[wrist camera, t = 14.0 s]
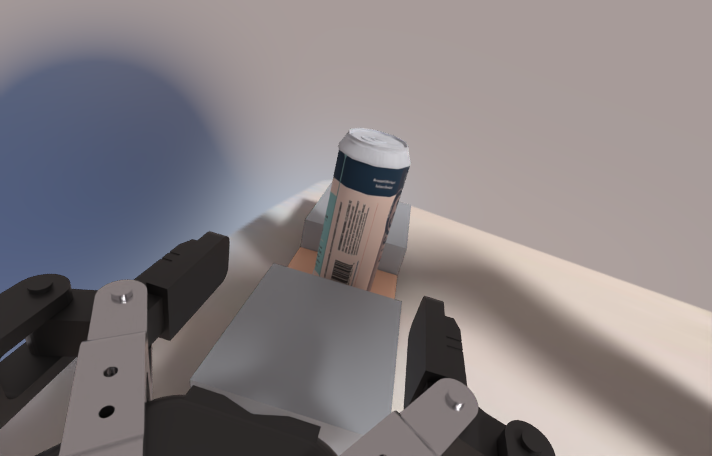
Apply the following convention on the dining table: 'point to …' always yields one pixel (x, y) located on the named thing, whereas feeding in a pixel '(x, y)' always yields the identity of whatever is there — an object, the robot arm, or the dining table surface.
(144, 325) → the robot arm
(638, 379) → the dining table surface
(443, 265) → the dining table surface
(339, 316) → the grey peach bar
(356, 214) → the beer can
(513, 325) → the dining table surface
